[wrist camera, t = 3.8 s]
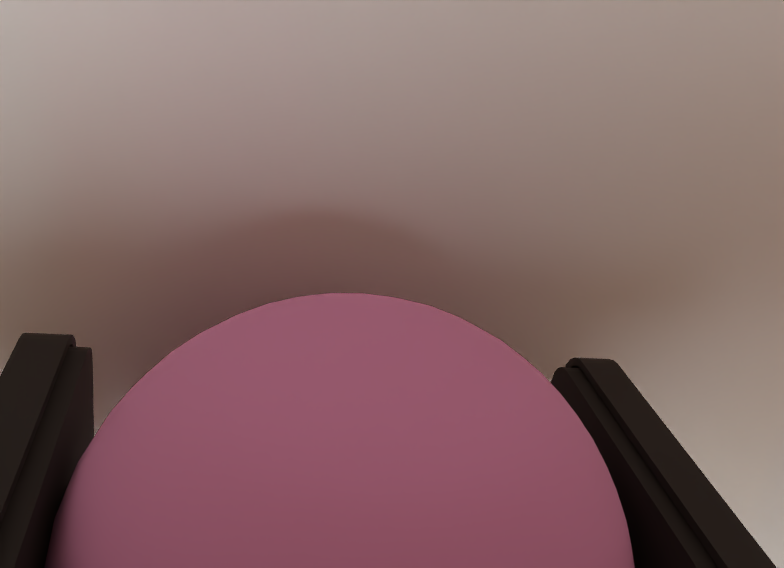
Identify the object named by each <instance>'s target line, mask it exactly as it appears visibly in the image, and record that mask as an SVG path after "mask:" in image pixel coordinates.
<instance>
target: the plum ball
mask: <svg viewBox="0 0 784 568" xmlns="http://www.w3.org/2000/svg"><path fill="white" fill-rule="evenodd" d="M44 568H635V566H634V559H633V552H632V546H631V541H630V536H629V531H628V526H627V521H626V518H625V515H624V512H623V508H622V505H621V502H620V499H619V496H618V493H617V490H616V487H615V485H614V483H613V480H612V478H611V475H610V473H609V470H608V468H607V466H606V464H605V462H604V460H603V458H602V456H601V454H600V452H599V450H598V448H597V446H596V444H595V442H594V440H593V439H592V437H591V436H590V434H589V432H588V431H587V429H586V428H585V426H584V425H583V423H582V422H581V420H580V419H579V417H578V416H577V414H576V413H575V412H574V410H573V409H572V408H571V406H570V405H569V404H568V403H567V401H566V400H565V399H564V397H563V396H562V395H561V394H560V393H559V391H558V390H557V389H556V388H555V387H554V386H553V385H552V384H551V383H550V382H549V381H548V380H547V379H546V377H545V376H544V375H543V374H542V373H541V372H540V371H538V370H537V369H536V368H535V367H534V366H533V365H532V364H530V363H529V362H528V361H527V360H526V359H525V358H523V357H522V356H521V355H520V354H518V353H517V352H516V351H514V350H513V349H512V348H511V347H509V346H508V345H507V344H505V343H504V342H503V341H502V340H500V339H498V338H496V337H495V336H493V335H491V334H489V333H487V332H486V331H484V330H482V329H480V328H479V327H477V326H475V325H473V324H471V323H469V322H468V321H466V320H464V319H462V318H460V317H458V316H455V315H453V314H450V313H448V312H445V311H443V310H440V309H437V308H435V307H432V306H429V305H425V304H421V303H417V302H413V301H409V300H405V299H401V298H395V297H389V296H380V295H372V294H364V293H325V294H316V295H308V296H299V297H294V298H290V299H286V300H281V301H277V302H273V303H268V304H265V305H262V306H260V307H257V308H254V309H251V310H248V311H246V312H243V313H240V314H237V315H235V316H233V317H231V318H229V319H227V320H225V321H223V322H221V323H219V324H217V325H215V326H213V327H211V328H209V329H207V330H205V331H203V332H201V333H199V334H197V335H196V336H194V337H193V338H191V339H190V340H188V341H187V342H185V343H184V344H182V345H181V346H179V347H178V348H176V349H175V350H173V351H172V352H170V353H169V354H168V355H167V356H166V357H165V358H163V359H162V360H161V361H160V362H159V363H158V364H156V365H155V366H154V367H153V368H152V369H151V370H149V371H148V372H147V373H146V374H145V375H144V376H143V377H142V378H141V379H140V380H139V381H138V382H137V383H136V384H135V385H134V386H133V387H132V388H131V389H130V390H129V391H128V392H127V393H126V395H125V396H124V397H123V398H122V399H121V400H120V401H119V403H118V404H117V405H116V406H115V407H114V408H113V409H112V411H111V412H110V413H109V415H108V416H107V418H106V419H105V421H104V422H103V424H102V425H101V427H100V429H99V430H98V432H97V433H96V435H95V436H94V438H93V439H92V441H91V443H90V444H89V446H88V447H87V449H86V450H85V452H84V453H83V455H82V456H81V458H80V460H79V461H78V463H77V466H76V468H75V470H74V473H73V475H72V477H71V480H70V482H69V484H68V486H67V489H66V491H65V494H64V496H63V499H62V501H61V504H60V506H59V509H58V511H57V514H56V516H55V519H54V523H53V528H52V533H51V537H50V542H49V547H48V552H47V557H46V561H45V566H44Z"/></svg>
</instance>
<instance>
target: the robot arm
mask: <svg viewBox="0 0 784 568" xmlns="http://www.w3.org/2000/svg"><path fill="white" fill-rule="evenodd" d="M551 384H552V385H553V386H554V387H555V388H556V389H557V390H558V391H559V393H560V394H561V395H562V396H563V397H564V399H565V400H566V401H567V403H568V404H569V405H570V406H571V408H572V409H573V410H574V412H575V413H576V414H577V416H578V417H579V419H580V420H581V422H582V423H583V425H584V426H585V428H586V429H587V431H588V432H589V434H590V436H591V437H592V439H593V440H594V442H595V444H596V446H597V448H598V450H599V452H600V454H601V456H602V458H603V460H604V462H605V464H606V466H607V468H608V470H609V473H610V475H611V478H612V480H613V483H614V485H615V487H616V490H617V493H618V496H619V499H620V502H621V505H622V508H623V512H624V515H625V518H626V521H627V526H628V531H629V536H630V541H631V546H632V552H633V559H634V566H635V568H776V566H775V565H774V564H773V563H772V561H771V560H770V559H769V557H768V556H767V555H766V554H765V552H764V551H763V550H762V548H761V547H760V546H759V545H758V543H757V542H756V541H755V539H754V538H753V537H752V536H751V534H750V533H749V532H748V530H747V529H746V528H745V527H744V525H743V524H742V523H741V522H740V520H739V519H738V518H737V516H736V515H735V514H734V513H733V511H732V510H731V509H730V507H729V506H728V505H727V504H726V502H725V501H724V500H723V498H722V497H721V496H720V495H719V493H718V492H717V491H716V489H715V488H714V487H713V486H712V484H711V483H710V482H709V480H708V479H707V478H706V477H705V475H704V474H703V473H702V471H701V470H700V469H699V468H698V466H697V465H696V464H695V462H694V461H693V460H692V459H691V457H690V456H689V455H688V454H687V452H686V451H685V450H684V448H683V447H682V446H681V445H680V443H679V442H678V441H677V439H676V438H675V437H674V436H673V434H672V433H671V432H670V430H669V429H668V428H667V427H666V425H665V424H664V423H663V421H662V420H661V419H660V418H659V416H658V415H657V414H656V412H655V411H654V410H653V409H652V407H651V406H650V405H649V403H648V402H647V401H646V400H645V398H644V397H643V396H642V394H641V393H640V392H639V391H638V389H637V388H636V387H635V385H634V384H633V383H632V382H631V380H630V379H629V378H628V377H627V375H626V374H625V373H624V371H623V370H622V369H621V368H620V366H619V365H618V364H617V363H616V362H615V361H614V360H610V359H593V358H573V359H570V360H569V362H568V363H567V364H566V366H565V367H560V368H558V369H557V370H556V371H555V373H554V375H553V378H552V381H551ZM93 438H94V415H93V363H92V350H91V348H88V347H76V342H75V338H74V336H73V335H62V334H39V333H23V334H22V335H21V336H20V338H19V340H18V342H17V344H16V346H15V348H14V350H13V352H12V354H11V356H10V358H9V360H8V362H7V364H6V366H5V368H4V370H3V372H2V374H1V376H0V568H44V566H45V561H46V557H47V552H48V547H49V542H50V537H51V533H52V528H53V523H54V519H55V516H56V514H57V511H58V509H59V506H60V504H61V501H62V499H63V496H64V494H65V491H66V489H67V486H68V484H69V482H70V480H71V477H72V475H73V473H74V470H75V468H76V466H77V463H78V461H79V460H80V458H81V456H82V455H83V453H84V452H85V450H86V449H87V447H88V446H89V444H90V443H91V441H92V439H93Z"/></svg>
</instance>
